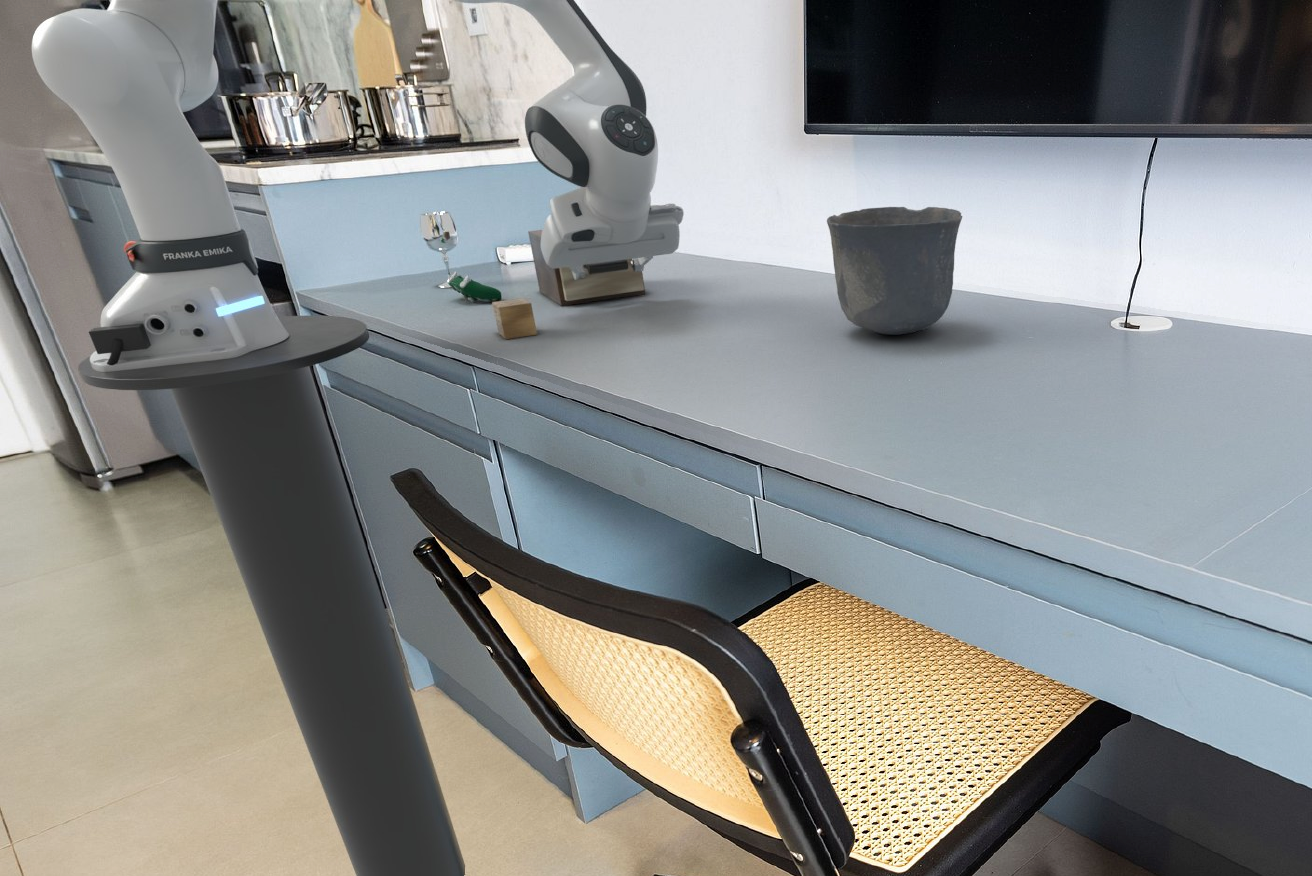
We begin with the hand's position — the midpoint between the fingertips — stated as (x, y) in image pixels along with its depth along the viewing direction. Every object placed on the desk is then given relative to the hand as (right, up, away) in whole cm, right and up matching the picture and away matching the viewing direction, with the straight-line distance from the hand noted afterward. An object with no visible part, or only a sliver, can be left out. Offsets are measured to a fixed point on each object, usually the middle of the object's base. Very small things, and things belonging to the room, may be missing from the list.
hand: (607, 271), depth 154 cm
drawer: (-4, -1, +7) cm, 8 cm away
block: (-9, -13, -13) cm, 21 cm away
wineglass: (-34, +5, +23) cm, 41 cm away
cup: (+45, -15, -22) cm, 52 cm away
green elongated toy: (-24, -2, +10) cm, 26 cm away
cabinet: (-6, 0, +11) cm, 13 cm away
